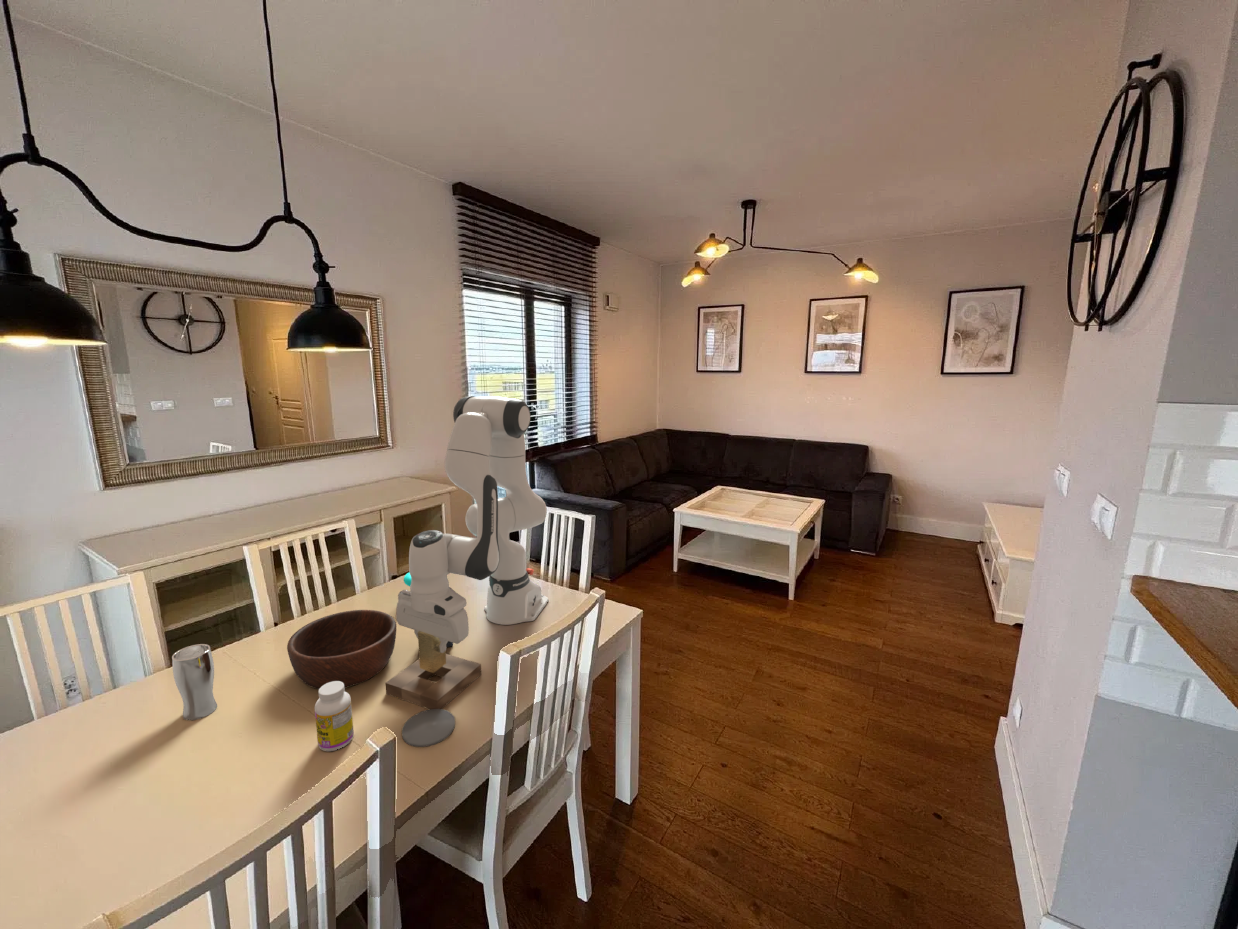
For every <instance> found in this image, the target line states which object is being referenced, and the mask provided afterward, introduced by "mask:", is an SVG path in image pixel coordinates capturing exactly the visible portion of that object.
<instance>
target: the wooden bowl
mask: <svg viewBox="0 0 1238 929" xmlns="http://www.w3.org/2000/svg"><path fill="white" fill-rule="evenodd" d="M395 619H396V618H394V617H393V616H392V615H390V614H389V613H386V612H383V611H380V610H374V609H355V610H354V609H353V610H348V611H342V612H337V613H331V614H329V615H326V616H323V617H320V618H317V619H315V620H313V621H311V622H308V623H307V624H305V625H304V626H302V627H301V628H299V629H297V631H296V632H294V633H293V634H292V636H290V638H289V640H288V642H287V646H286V650H287V654H288V658H289V661H290V664H291V667H292V669H293V671H294V673H295V674H296V675H295V676H297V678H298V679H299V680H300V681H301V682H302V683H303V684H305V685H306V686H308V687H311V688H313V689H318V690H319V689H320V688H321V687H322V686H323V685H325V684H326V683H329V682H333V681H341V682H343V683H344V688H350V687H352V686H356V685H359V684H361V683H364V682H366V681H368V680H369V679H372V678H373V677H375V676H376V675H377V674H378V673H380V672H381V671H382V670H383V669H384V668H385V667H386V666H387V664H388V663H389V661H390V660H391V658H392V655H393V653H394V652H393V651H394V649H395V644H396V636H397V621H396V620H395Z"/></svg>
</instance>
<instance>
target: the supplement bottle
mask: <svg viewBox="0 0 1238 929" xmlns="http://www.w3.org/2000/svg"><path fill="white" fill-rule="evenodd" d="M345 688H346V687H345ZM345 688H344V683H343V682H341V681H333V682H329V683H326V684H325V685H323V686H322V687H321V688H320V689H318V699H317V701H316V702H315V704H314V716H315V726H316V738H317V744H318V748H319V749H320V750H321V751H324V752H335V751H338V750H340V748H341V749H343V748H345V747H346V746H348V745H349V743H351V742H352V740H353V738H354V724H353V722H354V720H353V711H352V699H351V694H349V692H347V691H346V690H345ZM342 747H343V748H342ZM337 749H338V750H337Z"/></svg>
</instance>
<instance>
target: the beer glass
mask: <svg viewBox="0 0 1238 929" xmlns="http://www.w3.org/2000/svg"><path fill="white" fill-rule="evenodd" d="M213 657H214V656H213V653H212V651H211V645H209V644H207V643H206V644H205V643H200V644H199V643H198V644H192V645H190V646H189V645H188V646H185V647H183V648H181V649H179V650H177V651H176V652H174V653H173V654H172V656H171V659H172V673H173V675H172V676H173V679H174V682H175V683H174V684H175V686H176V689H177V690H178V693H179V694H180V697H181V699H182V703H183V704H182V706H183V709H182V710H183V711H182V718H183V719H184V720H185V721H195V720H200V719H203V718H206V717H208V716H209V715H211V714H212V713H214V712H215V711H216V709H217V708H218V703H217V701H216V699H215V696H214V692H213V690H214V679H215V663H214V658H213Z"/></svg>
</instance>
